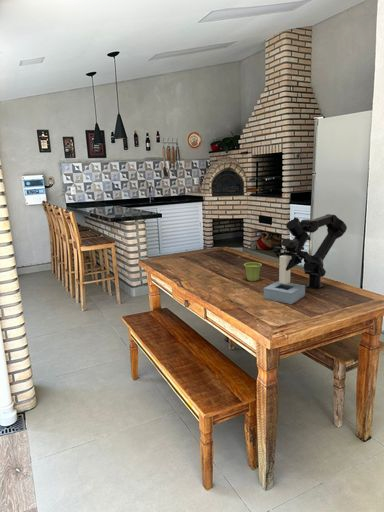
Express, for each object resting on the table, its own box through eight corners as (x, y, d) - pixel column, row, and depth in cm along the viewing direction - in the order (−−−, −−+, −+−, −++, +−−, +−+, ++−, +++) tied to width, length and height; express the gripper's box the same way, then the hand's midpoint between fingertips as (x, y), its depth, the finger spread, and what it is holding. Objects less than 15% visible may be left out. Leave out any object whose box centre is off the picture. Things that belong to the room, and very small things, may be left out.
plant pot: (262, 277, 214) (262, 262, 212) (260, 282, 206) (260, 266, 204) (245, 277, 217) (245, 262, 215) (243, 281, 208) (242, 266, 206)
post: (284, 281, 182) (284, 255, 180) (290, 282, 180) (290, 256, 177) (279, 282, 180) (279, 256, 178) (285, 284, 178) (285, 257, 175)
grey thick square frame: (277, 290, 191) (277, 280, 190) (304, 295, 182) (305, 285, 181) (263, 298, 181) (263, 288, 180) (291, 304, 172) (291, 293, 171)
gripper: (275, 229, 185) (259, 256, 180) (308, 233, 170) (292, 262, 166) (285, 243, 191) (270, 269, 187) (318, 248, 177) (302, 277, 172)
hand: (283, 269), depth 178 cm, fingers closed on post, 3 cm apart
